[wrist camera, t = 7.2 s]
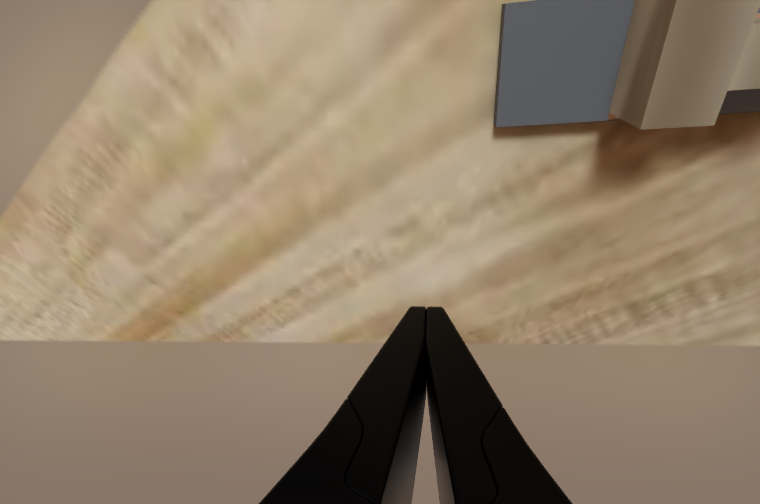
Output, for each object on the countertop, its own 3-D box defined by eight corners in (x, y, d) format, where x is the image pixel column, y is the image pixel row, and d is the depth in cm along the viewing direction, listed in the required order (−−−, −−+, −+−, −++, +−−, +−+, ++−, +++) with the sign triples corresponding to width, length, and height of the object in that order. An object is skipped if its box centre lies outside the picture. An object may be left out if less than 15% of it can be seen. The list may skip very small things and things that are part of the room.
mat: (862, -36, 13) (884, -39, 13) (794, 104, 16) (810, 108, 15) (502, 4, 15) (505, 3, 15) (493, 123, 18) (495, 127, 17)
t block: (851, -30, 13) (951, -42, 10) (789, 101, 15) (858, 117, 13) (636, -7, 14) (679, -12, 12) (608, 112, 16) (640, 129, 14)
